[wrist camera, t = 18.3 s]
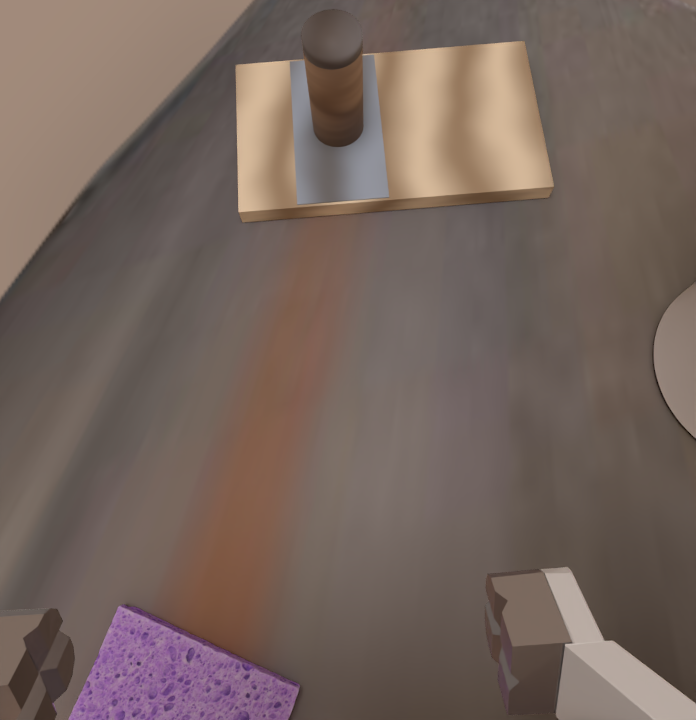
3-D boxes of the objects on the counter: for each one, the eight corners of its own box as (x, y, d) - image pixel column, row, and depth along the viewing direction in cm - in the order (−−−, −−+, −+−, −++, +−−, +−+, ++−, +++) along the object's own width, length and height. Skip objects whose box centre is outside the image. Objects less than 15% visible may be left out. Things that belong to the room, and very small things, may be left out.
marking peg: (361, 103, 49) (359, 7, 40) (365, 144, 48) (364, 55, 39) (311, 107, 49) (299, 12, 40) (314, 149, 48) (302, 60, 39)
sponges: (258, 803, 36) (252, 816, 34) (75, 713, 38) (61, 721, 36) (304, 682, 38) (301, 688, 36) (128, 601, 40) (117, 603, 38)
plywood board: (519, 55, 52) (524, 39, 50) (548, 197, 47) (554, 185, 46) (239, 78, 52) (235, 64, 50) (242, 222, 48) (238, 211, 46)
